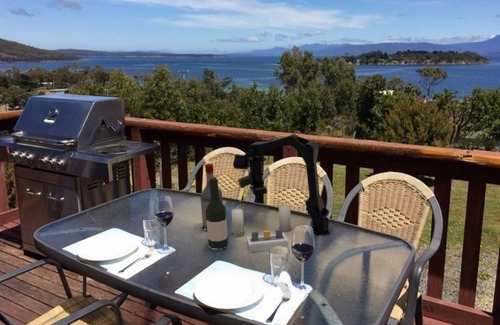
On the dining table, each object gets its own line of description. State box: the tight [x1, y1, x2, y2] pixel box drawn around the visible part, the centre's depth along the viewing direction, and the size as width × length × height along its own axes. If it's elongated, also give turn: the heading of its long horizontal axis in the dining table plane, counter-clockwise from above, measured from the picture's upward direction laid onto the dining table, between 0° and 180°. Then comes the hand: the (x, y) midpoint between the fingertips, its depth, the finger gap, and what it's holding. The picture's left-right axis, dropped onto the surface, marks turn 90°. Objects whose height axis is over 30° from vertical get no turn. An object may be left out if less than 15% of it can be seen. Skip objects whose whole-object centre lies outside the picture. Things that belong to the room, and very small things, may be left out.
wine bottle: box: [206, 176, 229, 249], centre depth 172 cm, size 8×8×30 cm
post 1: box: [231, 208, 246, 237], centre depth 186 cm, size 6×6×11 cm
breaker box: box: [246, 232, 290, 253], centre depth 174 cm, size 16×9×3 cm, turn 97°
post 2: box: [278, 203, 293, 233], centre depth 188 cm, size 6×6×11 cm
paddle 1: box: [251, 230, 259, 240], centre depth 173 cm, size 2×1×3 cm, turn 97°
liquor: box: [200, 163, 224, 231], centre depth 191 cm, size 9×9×30 cm
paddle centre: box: [263, 229, 271, 239], centre depth 173 cm, size 2×1×3 cm, turn 97°
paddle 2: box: [275, 228, 282, 238], centre depth 174 cm, size 2×1×3 cm, turn 98°
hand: (257, 202), depth 195 cm, fingers closed
